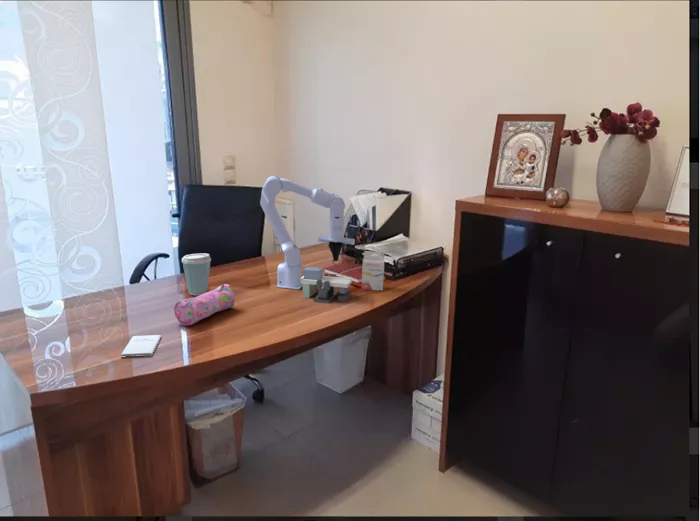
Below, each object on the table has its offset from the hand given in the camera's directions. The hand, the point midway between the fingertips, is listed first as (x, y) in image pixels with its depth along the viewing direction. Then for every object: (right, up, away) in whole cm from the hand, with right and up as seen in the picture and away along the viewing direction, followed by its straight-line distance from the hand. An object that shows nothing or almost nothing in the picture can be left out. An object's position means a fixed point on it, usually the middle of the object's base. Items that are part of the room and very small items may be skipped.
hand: (335, 260), depth 198 cm
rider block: (-8, -7, -11) cm, 15 cm away
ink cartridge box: (+15, -11, 0) cm, 18 cm away
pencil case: (-42, -19, -31) cm, 56 cm away
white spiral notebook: (-54, -26, -55) cm, 81 cm away
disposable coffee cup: (-52, -12, -9) cm, 54 cm away
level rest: (-10, -13, -9) cm, 19 cm away
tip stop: (+4, -14, -12) cm, 19 cm away
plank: (-3, -9, -12) cm, 15 cm away
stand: (-3, -14, -10) cm, 17 cm away
